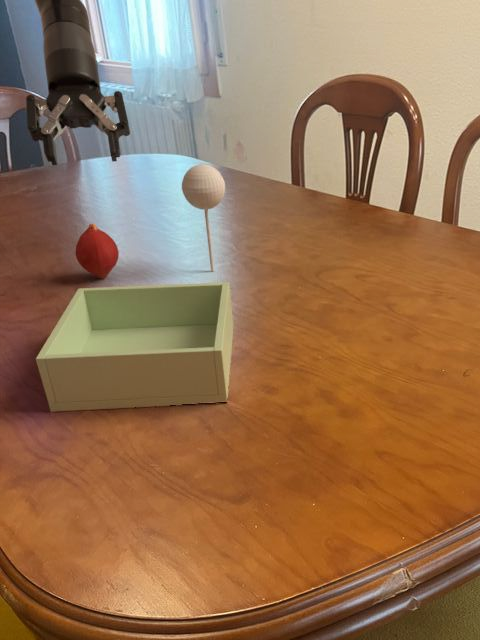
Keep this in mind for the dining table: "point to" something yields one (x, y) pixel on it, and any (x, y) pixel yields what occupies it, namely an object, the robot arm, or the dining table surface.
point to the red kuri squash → (96, 252)
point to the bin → (140, 348)
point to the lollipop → (204, 193)
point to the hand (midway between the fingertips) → (84, 160)
